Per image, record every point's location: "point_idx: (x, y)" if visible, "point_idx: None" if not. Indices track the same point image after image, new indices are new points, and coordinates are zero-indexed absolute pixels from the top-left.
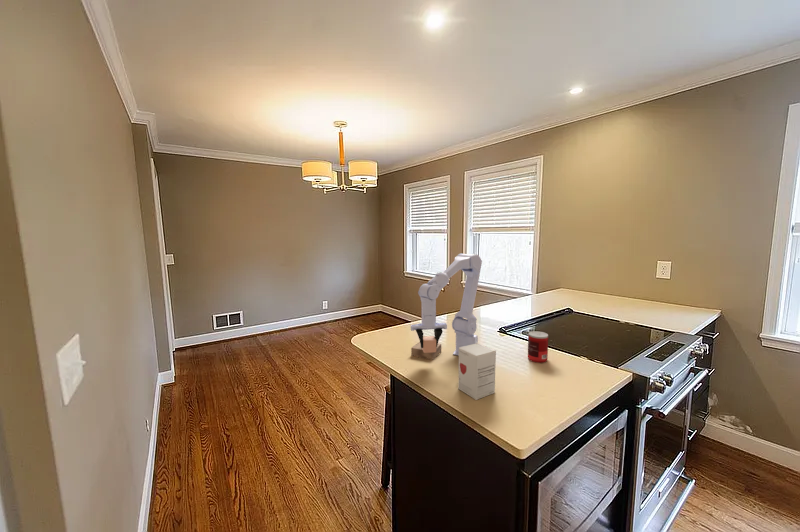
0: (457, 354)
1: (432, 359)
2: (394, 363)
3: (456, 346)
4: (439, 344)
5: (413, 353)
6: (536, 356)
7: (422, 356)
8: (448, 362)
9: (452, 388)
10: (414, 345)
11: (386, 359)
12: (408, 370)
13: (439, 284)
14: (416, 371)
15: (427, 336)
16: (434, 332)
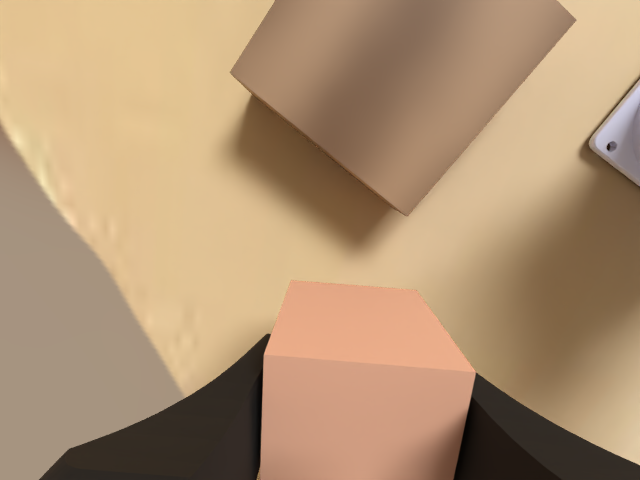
0: (620, 168)
1: (392, 207)
2: (118, 217)
3: None
4: (551, 27)
5: (261, 100)
6: None
7: (328, 155)
8: (485, 272)
9: None
10: (271, 8)
11: (59, 134)
12: (202, 334)
13: None
14: None
15: (359, 373)
16: (520, 463)
